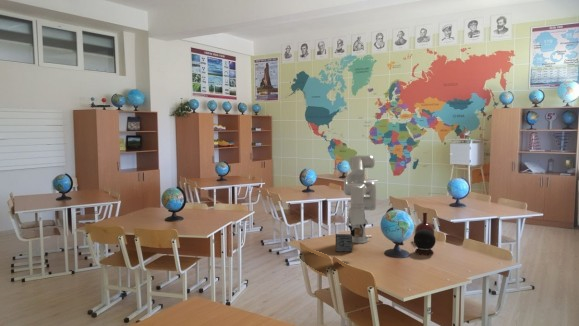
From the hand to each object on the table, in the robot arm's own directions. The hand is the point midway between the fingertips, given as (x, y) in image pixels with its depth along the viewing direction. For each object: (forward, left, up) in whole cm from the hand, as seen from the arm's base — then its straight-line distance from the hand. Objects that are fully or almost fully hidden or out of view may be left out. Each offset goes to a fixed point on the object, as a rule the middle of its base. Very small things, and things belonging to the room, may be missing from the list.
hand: (356, 235), depth 253 cm
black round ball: (-45, +6, -14) cm, 47 cm away
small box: (+1, -15, -14) cm, 21 cm away
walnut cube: (0, 0, -1) cm, 1 cm away
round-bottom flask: (-62, -17, -14) cm, 66 cm away
